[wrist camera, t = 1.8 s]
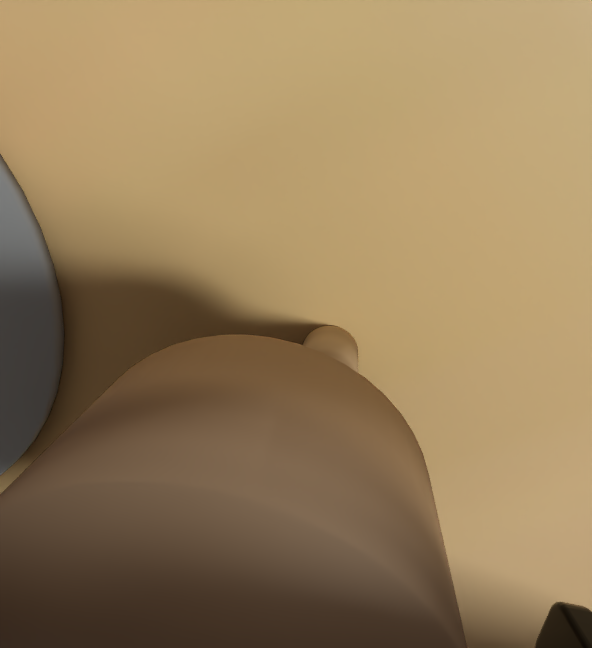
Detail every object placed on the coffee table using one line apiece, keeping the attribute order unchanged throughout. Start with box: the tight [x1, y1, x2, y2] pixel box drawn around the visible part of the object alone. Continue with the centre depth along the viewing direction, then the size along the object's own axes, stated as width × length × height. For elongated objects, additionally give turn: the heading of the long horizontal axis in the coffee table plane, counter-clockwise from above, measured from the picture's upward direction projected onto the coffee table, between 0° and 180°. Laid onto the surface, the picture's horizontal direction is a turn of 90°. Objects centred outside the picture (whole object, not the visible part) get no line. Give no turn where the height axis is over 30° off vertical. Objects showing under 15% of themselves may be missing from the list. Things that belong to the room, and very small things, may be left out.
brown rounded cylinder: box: [0, 326, 467, 648], centre depth 8 cm, size 6×6×6 cm
